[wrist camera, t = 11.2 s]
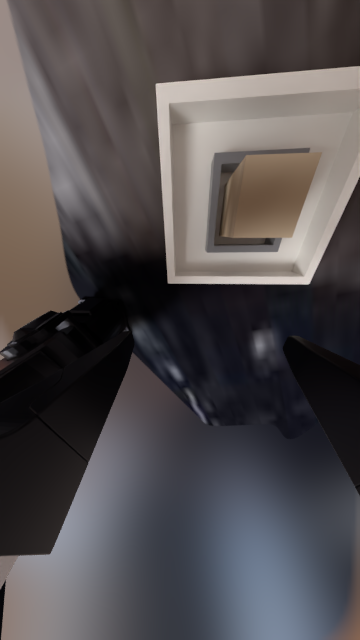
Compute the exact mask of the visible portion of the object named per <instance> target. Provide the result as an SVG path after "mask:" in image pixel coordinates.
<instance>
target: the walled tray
mask: <svg viewBox="0 0 360 640" xmlns="http://www.w3.org/2000/svg"><path fill="white" fill-rule="evenodd" d="M156 98H157V114H158V131H159V147H160V163H161V179H162V196H163V212H164V228H165V244H166V261H167V277H168V284H309V283H310V281H311V279H312V277H313V275H314V273H315V271H316V269H317V266H318V264H319V262H320V260H321V258H322V256H323V254H324V252H325V249H326V247H327V245H328V243H329V241H330V239H331V237H332V235H333V232H334V230H335V228H336V226H337V224H338V222H339V220H340V218H341V215H342V213H343V211H344V209H345V207H346V205H347V203H348V201H349V198H350V196H351V194H352V192H353V190H354V188H355V186H356V184H357V181H358V179H359V177H360V66H355V67H343V68H332V69H320V70H309V71H297V72H286V73H274V74H262V75H251V76H239V77H228V78H216V79H205V80H193V81H181V82H170V83H158V84H156ZM314 152H322V154H321V157H320V160H319V163H318V166H317V169H316V171H315V174H314V177H313V180H312V183H311V185H310V188H309V191H308V194H307V197H306V200H305V202H304V205H303V208H302V211H301V214H300V217H299V219H298V222H297V225H296V228H295V231H294V233H293V236H292V238H230V237H223V236H219V229H220V221H221V212H222V204H223V196H224V187H225V184H226V183H227V181H228V180H229V178H230V177H231V176H232V174H233V173H234V171H235V170H236V169H237V167H238V166H239V165H240V163H241V162H242V160H243V159H244V158H245V156H246V155H262V154H288V153H314Z"/></svg>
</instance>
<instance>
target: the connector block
mask: <svg viewBox="0 0 360 640" xmlns="http://www.w3.org/2000/svg"><path fill="white" fill-rule="evenodd" d="M321 154H322V152H314V153H288V154H262V155H246V156H245V158H244V159H243V160H242V162H241V163H240V165H239V166H238V167H237V169H236V170H235V171H234V173H233V174H232V176H231V177H230V178H229V180H228V181H227V183H226V184H225V187H224V196H223V204H222V212H221V221H220V229H219V236H223V237H230V238H292V236H293V233H294V231H295V228H296V225H297V222H298V219H299V217H300V214H301V211H302V208H303V205H304V202H305V200H306V197H307V194H308V191H309V188H310V185H311V183H312V180H313V177H314V174H315V171H316V169H317V166H318V163H319V160H320V157H321Z"/></svg>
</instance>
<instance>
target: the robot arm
mask: <svg viewBox="0 0 360 640" xmlns="http://www.w3.org/2000/svg"><path fill="white" fill-rule="evenodd" d="M118 302H119V303H120V304H118ZM133 348H134V339H133V335H132V332H131V331H130V329H129V325H128V321H127V317H126V313H125V309H124V305H123V302H122V301H121V300H119V299H106V298H88V299H81V300H79V304H78V305H77V306H75V307H74V308H72V309H71V310H68V311H66V312H63V313H62V312H60V313H57V312H54V311H49V312H47V313H46V314H43V315H42V316H40V317H38V318H36V319H35V320H33V321H31V322H30V323H28V324H27V325H25V326H23V327H21V328H20V329H18V330H17V331H15V332H14V335H13V340H12V341H11V342H10V343H8V344H7V346H6V347H5V348H4V349H3V350H2V351H0V354H1V355H2V356H4V357H5V358H3V359H2V360H0V640H1V631H2V619H3V607H4V595H5V583H6V578H7V576H8V574H9V572H10V570H11V569H12V567H13V565H14V563H15V561H16V559H17V557H18V556H20V555H46V554H50V553H51V551H52V549H53V547H54V545H55V542H56V540H57V538H58V535H59V533H60V530H61V528H62V526H63V523H64V521H65V518H66V516H67V514H68V511H69V509H70V506H71V504H72V501H73V499H74V497H75V494H76V492H77V489H78V487H79V485H80V482H81V480H82V477H83V475H84V473H85V470H86V468H87V465H88V462H89V460H90V458H91V455H92V453H93V450H94V448H95V446H96V443H97V441H98V438H99V436H100V434H101V431H102V429H103V426H104V424H105V422H106V419H107V417H108V414H109V412H110V409H111V407H112V405H113V402H114V400H115V397H116V395H117V393H118V390H119V388H120V385H121V383H122V381H123V378H124V376H125V373H126V371H127V368H128V365H129V362H130V358H131V354H132V351H133ZM283 351H284V354H285V356H286V359H287V361H288V363H289V366H290V368H291V370H292V373H293V375H294V377H295V379H296V381H297V382H298V384H299V386H300V388H301V390H302V392H303V393H304V395H305V397H306V399H307V401H308V402H309V404H310V406H311V408H312V410H313V411H314V413H315V415H316V417H317V419H318V420H319V422H320V424H321V426H322V428H323V430H324V431H325V433H326V435H327V437H328V439H329V440H330V442H331V444H332V446H333V448H334V449H335V451H336V453H337V455H338V457H339V459H340V460H341V462H342V464H343V466H344V468H345V469H346V471H347V473H348V475H349V477H350V478H351V480H352V482H353V484H354V485H355V488H356V489H357V491H358V493H359V495H360V365H358V364H356V363H354V362H352V361H350V360H348V359H345V358H343V357H341V356H339V355H337V354H335V353H333V352H331V351H329V350H326V349H324V348H322V347H320V346H318V345H316V344H314V343H312V342H310V341H307V340H305V339H303V338H301V337H299V336H289V337H288V338H287V340H286V342H285V344H284V346H283Z"/></svg>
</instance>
